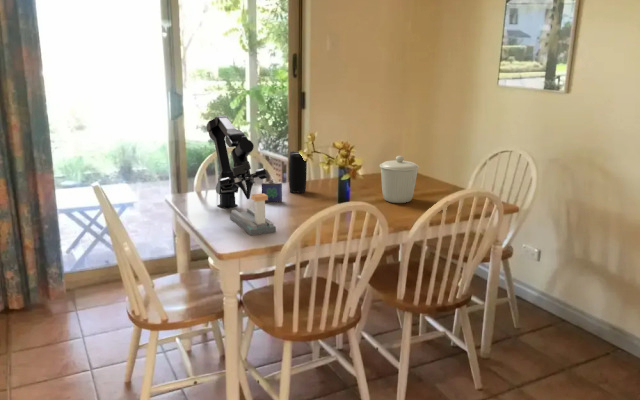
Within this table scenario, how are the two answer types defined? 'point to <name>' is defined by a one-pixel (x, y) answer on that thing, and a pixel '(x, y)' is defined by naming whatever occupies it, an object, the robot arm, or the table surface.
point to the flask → (272, 191)
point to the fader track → (250, 222)
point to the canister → (398, 180)
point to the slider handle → (259, 209)
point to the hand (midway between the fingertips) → (248, 199)
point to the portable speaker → (297, 173)
